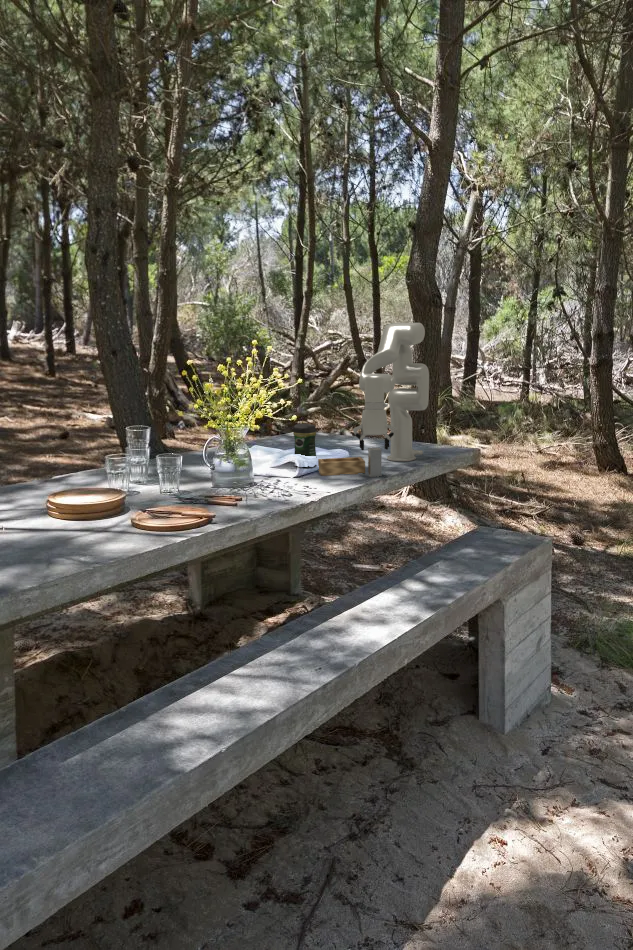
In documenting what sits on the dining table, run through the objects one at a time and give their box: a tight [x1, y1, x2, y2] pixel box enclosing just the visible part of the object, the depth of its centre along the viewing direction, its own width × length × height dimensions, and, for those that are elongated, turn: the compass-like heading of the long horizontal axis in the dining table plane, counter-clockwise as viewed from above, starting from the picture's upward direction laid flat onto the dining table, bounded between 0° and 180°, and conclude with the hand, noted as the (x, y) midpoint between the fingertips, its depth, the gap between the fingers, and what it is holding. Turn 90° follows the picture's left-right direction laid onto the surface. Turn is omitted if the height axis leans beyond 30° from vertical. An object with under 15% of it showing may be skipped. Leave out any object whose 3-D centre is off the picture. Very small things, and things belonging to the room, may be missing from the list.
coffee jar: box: [292, 423, 317, 457], centre depth 348 cm, size 10×8×19 cm
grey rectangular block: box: [367, 447, 383, 478], centre depth 326 cm, size 4×4×11 cm
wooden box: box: [317, 456, 366, 477], centre depth 334 cm, size 18×10×5 cm, turn 97°
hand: (374, 449), depth 324 cm, fingers open, 9 cm apart
